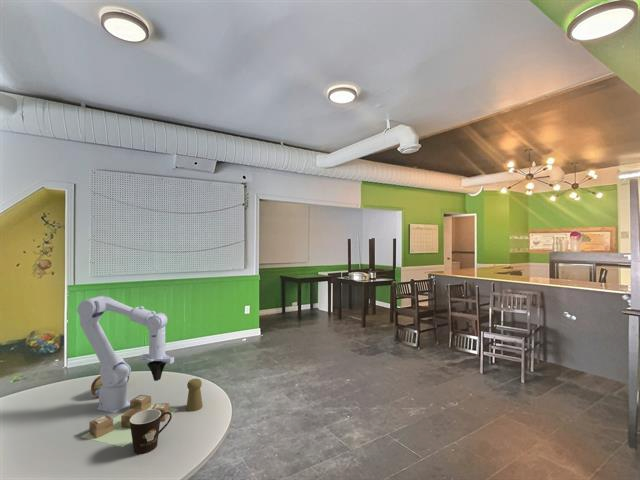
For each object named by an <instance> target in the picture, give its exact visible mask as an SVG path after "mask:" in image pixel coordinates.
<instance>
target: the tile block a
mask: <svg viewBox="0 0 640 480" xmlns="http://www.w3.org/2000/svg"><path fill="white" fill-rule="evenodd" d="M88 423H89V430H88V431H89V432H88V433H89V434H91V435H92V436H94V437H95V438H99V437H101V436H103V435H105V434H107V433H110V432H112V431H113V418H112V417H110V416H109V415H107V414H104V415H103V416H99V417H97V418H95V419H93V420H89V422H88Z"/></svg>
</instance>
